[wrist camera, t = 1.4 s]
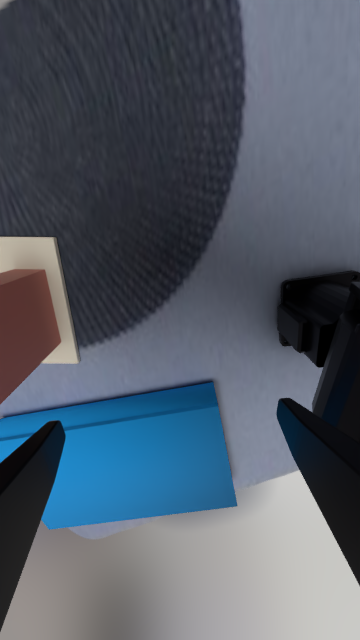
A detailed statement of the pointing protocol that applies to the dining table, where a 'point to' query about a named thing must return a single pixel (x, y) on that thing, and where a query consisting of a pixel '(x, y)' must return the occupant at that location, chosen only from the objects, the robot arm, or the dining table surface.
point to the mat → (45, 255)
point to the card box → (24, 326)
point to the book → (133, 457)
